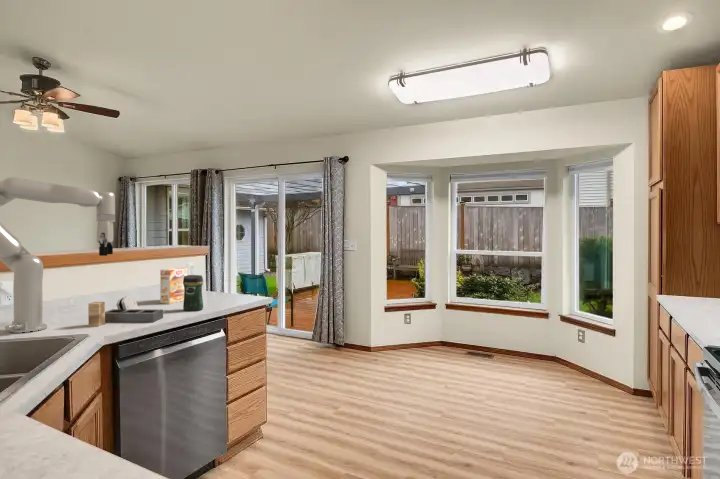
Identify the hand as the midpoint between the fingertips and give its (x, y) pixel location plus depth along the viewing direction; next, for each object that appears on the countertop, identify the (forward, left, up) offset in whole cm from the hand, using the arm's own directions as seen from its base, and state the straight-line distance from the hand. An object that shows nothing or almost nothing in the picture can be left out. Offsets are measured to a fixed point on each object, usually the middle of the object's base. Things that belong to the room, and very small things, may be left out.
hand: (106, 254), depth 197 cm
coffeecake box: (+48, -12, -31) cm, 58 cm away
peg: (-12, -3, -30) cm, 33 cm away
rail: (-1, -13, -30) cm, 33 cm away
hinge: (+13, -4, -31) cm, 34 cm away
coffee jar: (+24, -32, -31) cm, 50 cm away
